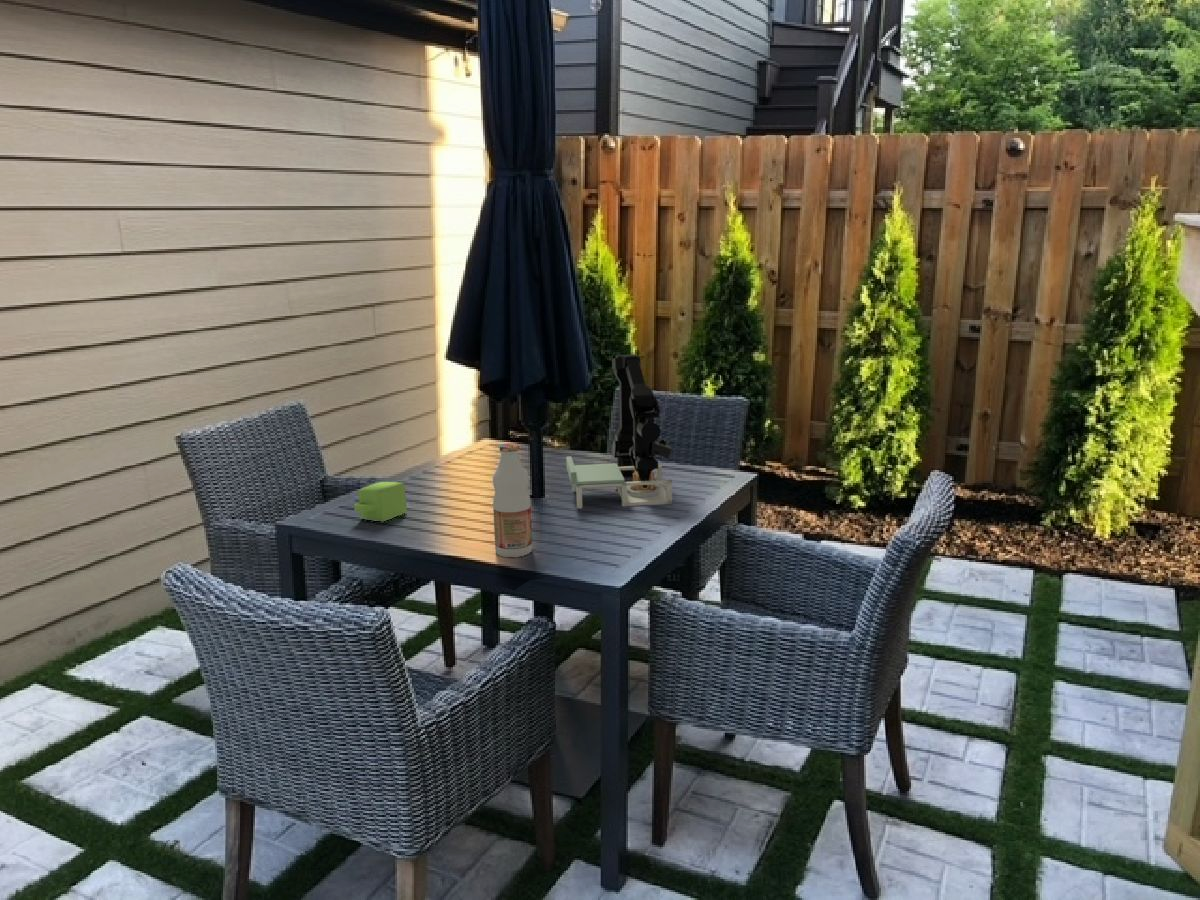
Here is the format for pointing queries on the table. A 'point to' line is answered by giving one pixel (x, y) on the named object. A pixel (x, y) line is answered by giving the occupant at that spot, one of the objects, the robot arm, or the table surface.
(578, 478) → the sliding lid
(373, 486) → the gearbox
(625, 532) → the table surface
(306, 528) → the table surface
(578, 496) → the housing
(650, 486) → the gear hub
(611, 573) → the table surface
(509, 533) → the fruit juice
